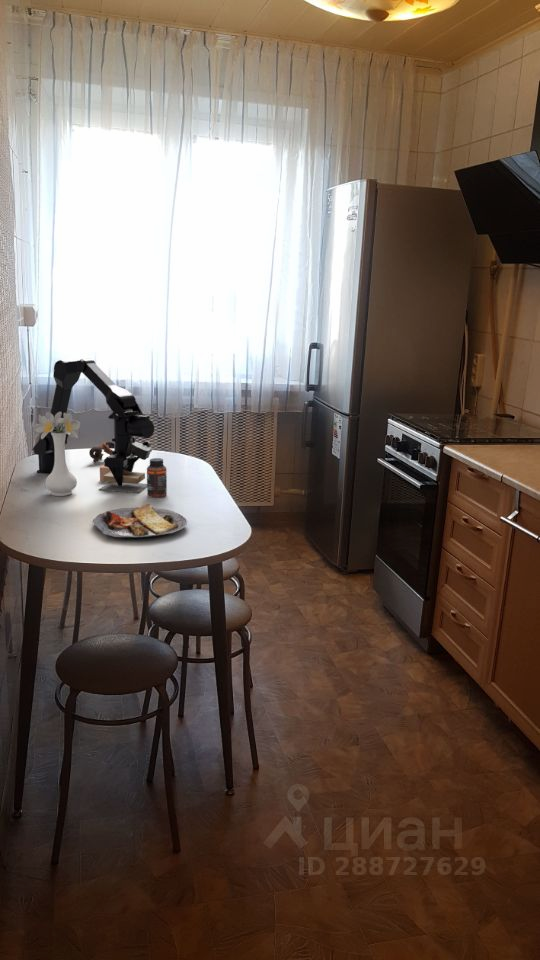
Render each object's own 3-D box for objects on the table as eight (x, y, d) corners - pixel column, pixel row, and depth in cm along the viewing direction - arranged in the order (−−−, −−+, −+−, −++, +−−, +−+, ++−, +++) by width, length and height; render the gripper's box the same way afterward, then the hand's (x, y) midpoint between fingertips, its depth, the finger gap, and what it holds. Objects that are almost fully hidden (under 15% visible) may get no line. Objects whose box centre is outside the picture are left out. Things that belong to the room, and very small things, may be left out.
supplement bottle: (170, 494, 235) (170, 458, 233) (160, 499, 230) (159, 462, 227) (154, 491, 238) (153, 456, 235) (143, 496, 233) (142, 460, 230)
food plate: (83, 519, 209) (82, 507, 208) (163, 510, 220) (163, 498, 219) (112, 550, 188) (112, 536, 187) (199, 538, 199) (199, 525, 198)
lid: (137, 483, 237) (137, 475, 236) (103, 481, 238) (103, 472, 238) (144, 478, 244) (144, 469, 243) (111, 476, 245) (111, 467, 245)
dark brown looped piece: (105, 458, 282) (115, 440, 280) (118, 474, 278) (129, 455, 275) (79, 455, 273) (90, 436, 270) (92, 471, 268) (103, 452, 265)
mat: (98, 490, 238) (98, 489, 238) (110, 482, 247) (110, 481, 247) (139, 493, 236) (139, 491, 236) (149, 485, 245) (149, 483, 245)
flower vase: (85, 485, 243) (83, 407, 237) (78, 501, 226) (75, 417, 219) (43, 485, 242) (39, 406, 235) (33, 501, 224) (28, 417, 218)
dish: (99, 480, 249) (99, 467, 248) (111, 473, 259) (110, 460, 257) (117, 482, 248) (117, 468, 247) (128, 474, 258) (127, 461, 257)
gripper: (138, 441, 227) (139, 492, 231) (157, 430, 245) (158, 477, 249) (102, 439, 229) (104, 489, 233) (124, 428, 247) (125, 475, 251)
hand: (124, 482), depth 241 cm, fingers closed on lid, 7 cm apart
